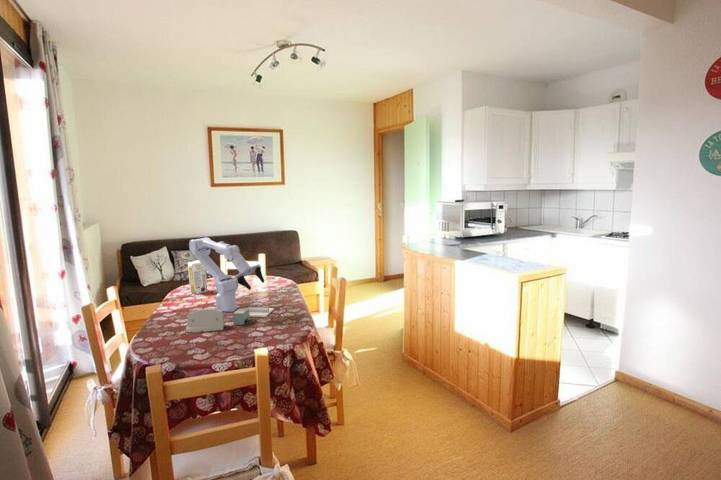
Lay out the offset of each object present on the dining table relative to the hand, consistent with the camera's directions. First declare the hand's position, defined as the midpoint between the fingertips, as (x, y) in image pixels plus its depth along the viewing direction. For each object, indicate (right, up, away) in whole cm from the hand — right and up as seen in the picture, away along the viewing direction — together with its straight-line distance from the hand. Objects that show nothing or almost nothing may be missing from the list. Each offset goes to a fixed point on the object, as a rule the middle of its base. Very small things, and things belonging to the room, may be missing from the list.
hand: (256, 285), depth 198 cm
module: (-6, -17, -4) cm, 19 cm away
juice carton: (-47, -10, +48) cm, 68 cm away
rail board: (-2, -15, +8) cm, 17 cm away
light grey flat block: (-21, -19, -11) cm, 30 cm away
